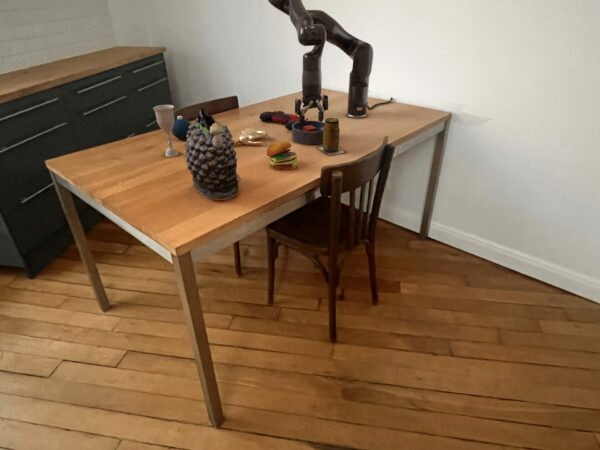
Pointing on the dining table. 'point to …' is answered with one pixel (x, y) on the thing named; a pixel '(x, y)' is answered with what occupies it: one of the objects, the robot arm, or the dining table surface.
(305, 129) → the toy car
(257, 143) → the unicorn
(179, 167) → the dining table surface
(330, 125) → the condiment
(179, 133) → the christmas ornament
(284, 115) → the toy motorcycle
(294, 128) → the bowl
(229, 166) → the pinecone ceramic vase
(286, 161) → the cheeseburger
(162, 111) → the chalice
